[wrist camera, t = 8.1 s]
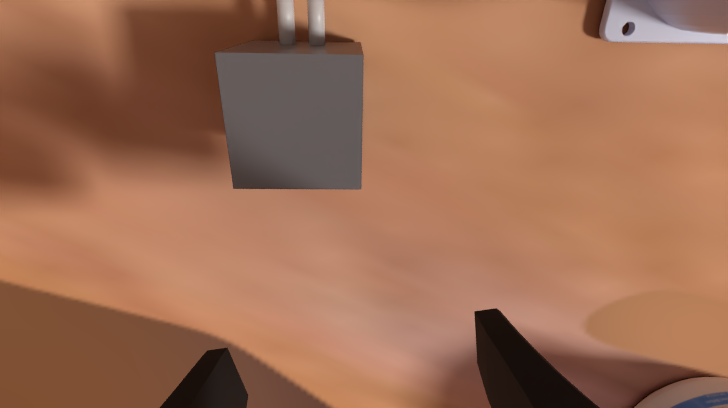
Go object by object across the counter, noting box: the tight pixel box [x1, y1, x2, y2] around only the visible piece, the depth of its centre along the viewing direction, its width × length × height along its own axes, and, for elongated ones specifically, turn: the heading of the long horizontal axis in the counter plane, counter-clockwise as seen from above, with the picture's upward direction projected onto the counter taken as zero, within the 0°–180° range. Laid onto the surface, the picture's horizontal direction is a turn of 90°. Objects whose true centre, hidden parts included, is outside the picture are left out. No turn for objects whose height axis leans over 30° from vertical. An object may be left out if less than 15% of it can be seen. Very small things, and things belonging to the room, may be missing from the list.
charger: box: [215, 0, 363, 189], centre depth 15 cm, size 6×4×5 cm
